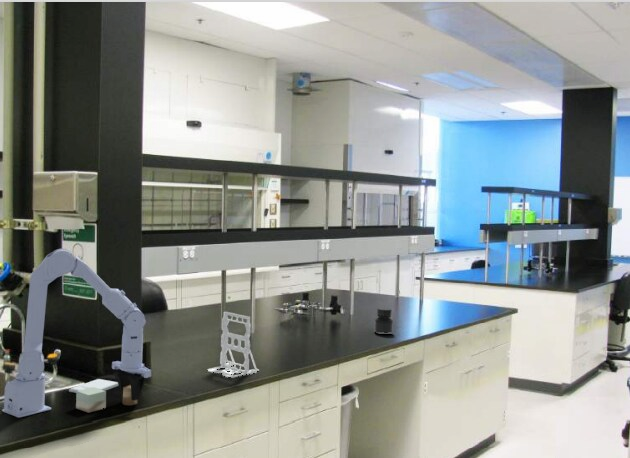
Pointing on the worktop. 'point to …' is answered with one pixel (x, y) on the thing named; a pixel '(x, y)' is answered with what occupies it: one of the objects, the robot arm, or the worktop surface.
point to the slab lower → (90, 406)
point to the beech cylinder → (128, 396)
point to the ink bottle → (383, 320)
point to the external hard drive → (95, 385)
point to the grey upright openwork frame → (234, 348)
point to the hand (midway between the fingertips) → (130, 398)
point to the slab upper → (91, 395)
